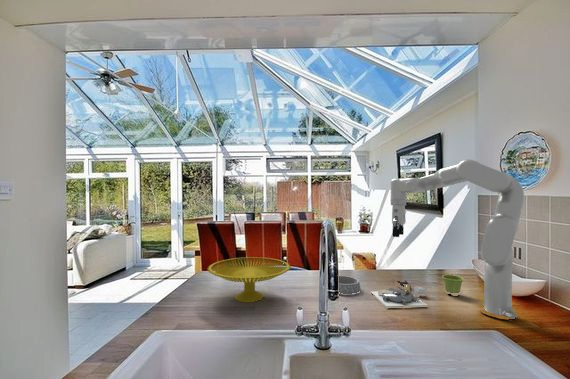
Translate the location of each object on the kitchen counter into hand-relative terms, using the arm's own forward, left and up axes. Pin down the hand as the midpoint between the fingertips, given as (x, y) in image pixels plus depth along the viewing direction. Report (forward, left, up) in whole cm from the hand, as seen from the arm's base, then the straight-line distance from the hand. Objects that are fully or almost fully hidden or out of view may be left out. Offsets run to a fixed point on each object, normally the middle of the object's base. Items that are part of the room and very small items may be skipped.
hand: (398, 235), depth 156 cm
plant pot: (-7, -25, -29) cm, 39 cm away
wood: (+11, -7, -29) cm, 32 cm away
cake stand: (-3, +76, -29) cm, 81 cm away
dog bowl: (+5, +27, -29) cm, 40 cm away
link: (-7, -8, -29) cm, 31 cm away
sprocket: (-13, +6, -27) cm, 31 cm away
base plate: (-13, +6, -29) cm, 32 cm away
